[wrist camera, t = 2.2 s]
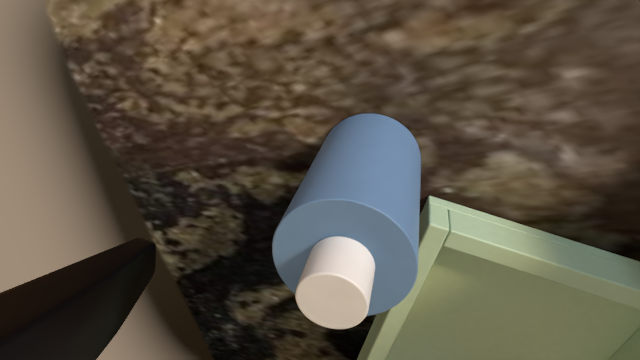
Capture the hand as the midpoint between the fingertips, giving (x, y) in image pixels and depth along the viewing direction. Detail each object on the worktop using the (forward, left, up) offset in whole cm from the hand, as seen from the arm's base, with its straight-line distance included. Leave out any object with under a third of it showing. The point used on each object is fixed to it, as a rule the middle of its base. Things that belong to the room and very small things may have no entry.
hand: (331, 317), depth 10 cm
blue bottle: (0, 0, -8) cm, 8 cm away
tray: (-8, +11, -8) cm, 16 cm away
